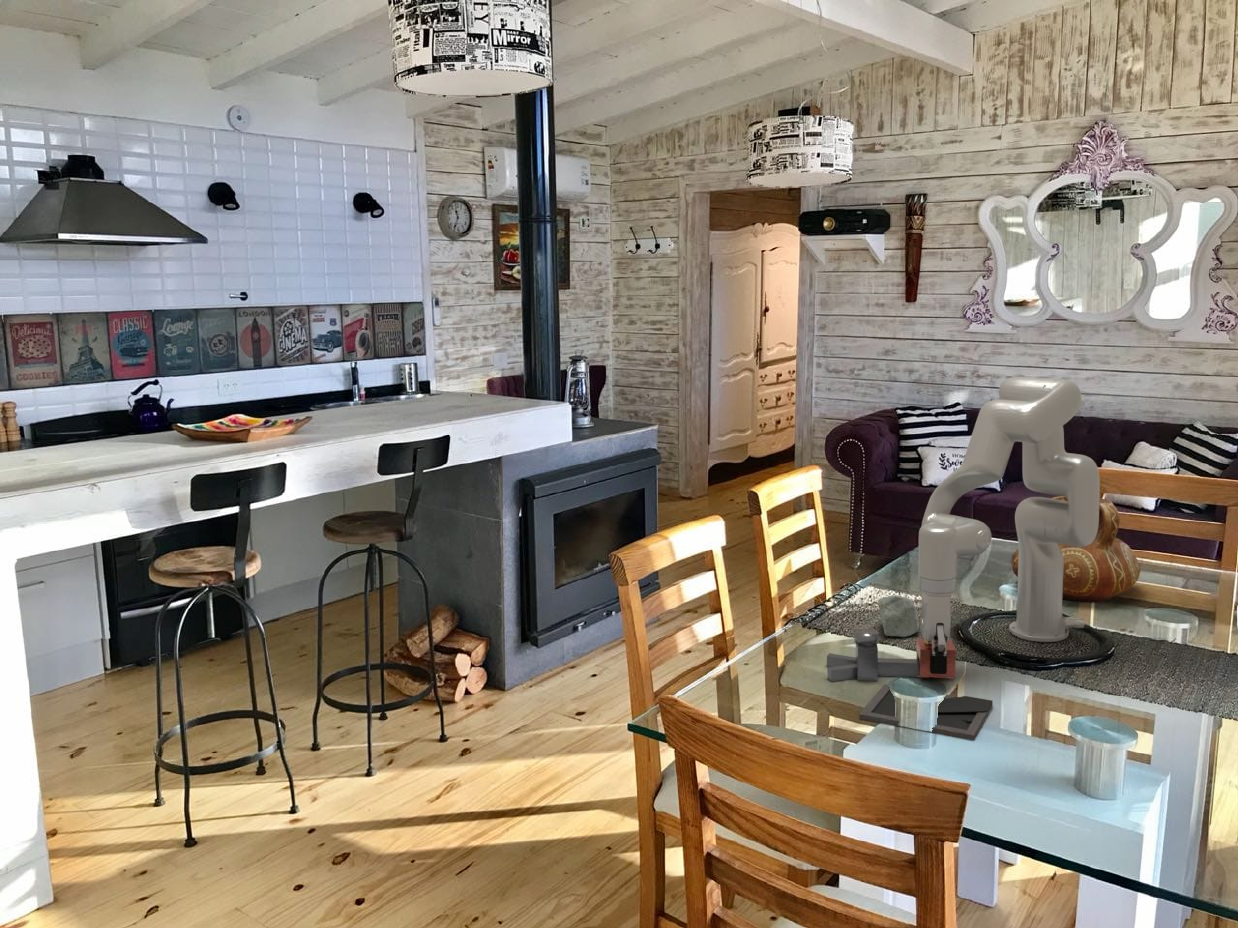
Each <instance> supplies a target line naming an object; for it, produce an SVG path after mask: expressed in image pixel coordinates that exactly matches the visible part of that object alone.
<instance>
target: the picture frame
mask: <svg viewBox="0 0 1238 928" xmlns="http://www.w3.org/2000/svg"><path fill="white" fill-rule="evenodd" d="M889 685H890V684H886V683H884V684H883V685H882V686H881V688H880V689H879V690H878V691H877V692H876V694H875V695H874V696H873V697H872V699H871V700H870V701H869V702H868V703H867V704H866V706H865V707H864V708H863V709H862V710H861V711H860V713H859V718H858V719H859V720H864V721H868V722H872V723H873V722H874V723H878V724H879V723H880V724H884V725H888V726H889V725H890V726H894V727H895V726H896V727H899V726H898V723H899V721H898V720H897V718H896V717H895V699H894V696H893V694H892V693H891V691H890V687H889ZM945 695H946V696H945V697H944V700H943V701H942V702H941V703H940V704H939V706H938V718H937V725H935V727H933V728H932V729H933V730H932V734H937V735H942V736H947V737H953V738H958V739H963V740H968V741H972V742H973V741H975V739H976V737H977V736H978V734H979V732H980V730H981V729H982V727H983V725H984V723H985V721H986V719H988V716H989V714H990V712H991V711H992V709H993V706H994V705H993V700H991V699H987V698H979V697H973V696H967V695H963V696H955V695H949V694H945Z"/></svg>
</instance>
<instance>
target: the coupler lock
mask: <svg viewBox="0 0 1238 928" xmlns="http://www.w3.org/2000/svg"><path fill="white" fill-rule="evenodd" d="M934 640H937V639H934ZM937 644H938V643H935V647H936V646H937ZM930 654H932V644H931V641H929V642H926V641H925V640H924V638H916V658H915V659H919V676H920V677H919V678H929V677H932V678H933V677H934V678H935V679H936V678H939V679H940V678H941V679H943V678H944V679H956V671H957V670H956V669H957V667H956V664H957V663H956V662H957V650H956V647H955V645H954V643H953V640H952V638H950V640H949V641H948V642H946V655H947V673H946V674H931V672H930Z"/></svg>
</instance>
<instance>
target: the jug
mask: <svg viewBox="0 0 1238 928" xmlns="http://www.w3.org/2000/svg"><path fill="white" fill-rule="evenodd" d="M1050 498H1051V499H1057V500H1062V501H1068V500H1067V497H1064V496H1058V495H1057V496H1052V497H1050ZM1120 521H1121V520H1120V514H1119V511H1118V508H1117V507H1116V506H1115V504H1114V503H1113V502H1112V501H1111V500H1109V499H1108V498H1107V499H1106V498H1103V497H1102V498H1101V497H1099V525H1098V531H1097V535H1096V537H1095V539H1094V541H1093V542H1092V543H1091V544H1090V545H1088V546H1086V547H1074V546H1068V545H1063V544H1058V545H1059V547H1060V549H1061V552H1062V555H1063V559H1064V572H1063V596H1062V601H1065V602H1071V603H1072V602H1073V603H1081V604H1086V603H1087V604H1096V603H1102V602H1107V601H1109V600H1111V599H1113V598H1116V597H1117V596H1119V595H1121V594H1124V592H1127V591H1128V590H1130V589H1131V588H1132V587H1134V585H1135V584H1136V583H1137V581H1138V580H1139V578H1140V575H1141V566H1140V563H1139V561H1138V559H1137V557H1136V554H1135V552H1134V551H1133V550H1132V549H1131V547H1130V546H1129V545H1128V544H1127V543H1125V542H1124V541H1123V540H1121V539H1120V538H1119V537H1118V538H1117V537H1116V536H1117V533H1118V532H1119V527H1120ZM1018 561H1019V547H1017V549H1016V550H1015V552H1014V553H1013V554H1012V556H1011V560H1010V564H1011V568H1012V572H1013V573H1014V575H1015V576H1016V577H1017V578H1018Z"/></svg>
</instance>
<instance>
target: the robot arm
mask: <svg viewBox="0 0 1238 928" xmlns="http://www.w3.org/2000/svg"><path fill="white" fill-rule="evenodd" d="M998 396H999V399H994V400H989V401H986V403H984V404H983V405H982V406H981V408H980V410H979V412H978V414H977V415H978V416H977V418H976V422H975V424H974V427H973V431H972V433H971V436H970V440H969V442H968V445H967V448H966V452H965V453H964V457H963V460H962V463H961V464H960V466H959V467H958V468H957V469H955V470H954V471H953V472H952V473H950V474H949V475H948V476H946V478H945V479H943V480H942V482H941V483H939V485H938V486H937V487H936V488H935V489H934V491H933V492H932V494H931V495H930V497H929V500H928V502H927V505H926V509H925V510H924V511H925V512H924V514H923V518H922V521H921V527H920V528H919V531H918V557H917V558H918V564H917V565H918V566H917V567H918V570H917V571H918V575H917V579H918V581H917V583H918V584H917V585H918V586H917V590H918V592H919V593H921V606H920V622H919V628H920V632H921V634H922V637H923V639H924V640H925V641H926V642H929V641H931V644H932V654H930V672H931V674H946V673H947V655H946V642H948V641H949V640H950V639H951V624H952V623H951V622H952V621H951V619H952V617H951V616H952V612H951V611H952V606H951V605H952V602H951V601H952V600H951V598H952V595H955V594H956V593H957V583H958V581H957V578H958V576H957V575H958V573H957V572H958V559H959V558H964V557H965V558H966V557H975V556H979V555H981V554H983V553H985V552H986V551H987V549H988V548H989V547H990V545H991V544H992V540H993V539H992V535H993V534H992V531H991V529H990V527H989V526H988V525H987V524H986V523H984V522H982V521H980V520H978V519H974V518H968V517H963V516H960V515H959V516H958V515H954V514H951V510H952V508H953V507H954V505H955V504H956V502H957V501H958V500H959V499H960V498H961V497H962V496H963V495H965V494H967V493H968V492H970V491H973V490H975V489H978V488H981V487H983V486H987V485H990V484H993V483H996V482H998V481H1000V480H1002V478H1003V477H1004V475H1005V472H1006V468H1007V466H1008V463H1009V459H1010V456H1011V453H1012V450H1013V447H1014V444H1015V443H1017V442H1019V443H1022V460H1021V461H1022V468H1021V469H1022V470H1021V471H1022V481H1023V484H1024V486H1025V487H1026V488H1027V489H1029V490H1031V492H1032V491H1033V492H1036V493H1041V494H1047V495H1052V496H1057V497H1058V496H1064V497H1067V500H1068V501H1062V500H1057V499H1051V498H1052V497H1044V496H1030V497H1027V498H1025V499H1023V500H1022V501H1020V502H1019V503H1018V504H1017V507H1016V509H1015V513H1014V522H1015V523H1014V524H1015V530H1016V536H1017V542H1018V543H1017V544H1018V545H1017V546H1018V548H1019V561H1018V577H1017V593H1016V594H1017V597H1016V621H1012V622H1011V623H1010V624H1009V625H1008V631H1009V633H1010V632H1011V633H1012V634H1011V633H1010V634H1011V635H1013V636H1014V635H1015V636H1014V637H1016V636H1017V637H1016V638H1019V639H1022V640H1026V641H1030V642H1040V643H1052V642H1053V643H1054V642H1060V641H1063V640H1065V639H1067V638H1068V637H1069V629H1070V628H1075V629H1084V628H1085V620H1084V619H1082V618H1081V619H1077V618H1076V617H1075V616H1065V615H1063V600H1062V596H1063V572H1064V559H1063V555H1062V552H1061V549H1060V547H1059V545H1058V544H1063V545H1068V546H1074V547H1086V546H1088V545H1090V544H1091V543H1092V542H1093V541H1094V539H1095V537H1096V535H1097V531H1098V525H1099V498H1100V489H1101V487H1100V486H1101V485H1100V484H1101V483H1100V470H1099V468H1098V465H1097V463H1096V462H1095V461H1094V460H1093V459H1092V458H1091V457H1089V456H1087V455H1084V454H1078V453H1070V452H1067V451H1066V450H1065V437H1064V436H1065V432H1064V425H1066V424H1068V422H1069V421H1071V419H1072V418H1073V417H1074V416H1075V415H1076V414H1077V413H1078V411H1079V410H1080V407H1081V403H1082V391H1081V390H1080V387H1079V386H1078V385H1077V384H1076V383H1075V382H1073V381H1072V380H1068V379H1062V378H1052V377H1051V378H1050V377H1049V378H1048V377H1037V376H1011V377H1007V378H1006V379H1004V380H1003V381H1001V383H1000V384H999V387H998ZM934 639H937V640H934ZM935 643H938V644H937V646H936V647H935Z"/></svg>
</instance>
